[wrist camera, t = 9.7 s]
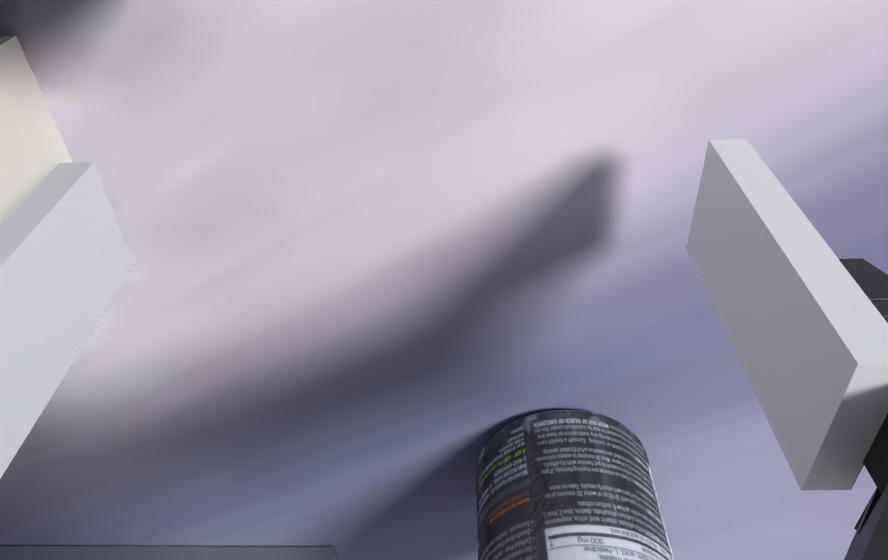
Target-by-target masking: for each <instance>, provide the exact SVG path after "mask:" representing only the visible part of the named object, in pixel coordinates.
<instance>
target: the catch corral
mask: <svg viewBox="0 0 888 560" xmlns="http://www.w3.org/2000/svg"><path fill="white" fill-rule="evenodd" d="M0 560H337V557H336V553H335V549H334V547H225V546H0Z"/></svg>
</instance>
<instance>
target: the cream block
mask: <svg viewBox="0 0 888 560" xmlns="http://www.w3.org/2000/svg"><path fill="white" fill-rule="evenodd" d="M59 163H72V160H71V158H70V156H69V154H68V151H67V149H66V147H65V145H64V142H63V140H62V138H61V135H60V133H59V131H58V129H57V126H56V124H55V122H54V120H53V117H52V115H51V113H50V111H49V108H48V106H47V104H46V102H45V99H44V97H43V95H42V93H41V90H40V88H39V86H38V84H37V81H36V79H35V77H34V74H33V72H32V70H31V68H30V65H29V63H28V61H27V59H26V56H25V54H24V52H23V50H22V47H21V45H20V43H19V41H18V38H17V36H2V37H0V224H1V223H2V222H3V221H4V220H5V219H6V217H7V216H8V215H9V214H10V213H11V212H12V211H13V210H14V209H15V208H16V207H17V206H18V205H19V204H20V203H21V202H22V201H23V200H24V199H25V198H26V197H27V196H28V195H29V194H30V193H31V192H32V191H33V190H34V189H35V188H36V187H37V186H38V185H39V183H40V182H41V181H42V180H43V179H44V178H45V177H46V176H47V175H48V174H49V173H50V172H51V171H52V170H53V169H54V168H55V167H56V166H57V165H58V164H59Z"/></svg>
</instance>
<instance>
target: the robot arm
mask: <svg viewBox="0 0 888 560" xmlns="http://www.w3.org/2000/svg"><path fill="white" fill-rule="evenodd" d="M687 251H688V253H689V255H690V257H691V259H692V261H693V263H694V265H695V267H696V270H697V272H698V274H699V276H700V278H701V280H702V282H703V284H704V286H705V288H706V291H707V293H708V295H709V297H710V299H711V301H712V303H713V305H714V307H715V310H716V312H717V314H718V316H719V318H720V320H721V322H722V324H723V326H724V329H725V331H726V333H727V335H728V337H729V339H730V341H731V343H732V345H733V348H734V350H735V352H736V354H737V356H738V358H739V360H740V362H741V364H742V366H743V369H744V371H745V373H746V375H747V377H748V379H749V381H750V383H751V385H752V388H753V390H754V392H755V394H756V396H757V398H758V400H759V402H760V404H761V407H762V409H763V411H764V413H765V415H766V417H767V419H768V421H769V423H770V426H771V428H772V430H773V432H774V434H775V436H776V438H777V440H778V442H779V444H780V447H781V449H782V451H783V453H784V455H785V457H786V459H787V461H788V463H789V466H790V468H791V470H792V472H793V474H794V476H795V478H796V480H797V482H798V485H799V487H800V489H801V490H851V489H852V487H853V485H854V483H855V481H856V479H857V477H858V475H859V474H860V472H861V470H862V468H863V466H864V465H865V467H866V469H867V470H868V472H869V474H870V475H871V477H872V479H873V481H874V482H875V484H876V486H877V488H876V490H875V492H874V494H873V495H872V497H871V499H870V501H869V503H868V504H867V506H866V508H865V510H864V512H863V513H862V515H861V517H860V519H859V521H858V522H857V524H856V526H855V528H854V529H856V530H857V531H856V533H855V536H854V538H853V540H852V543H851V545H850V547H849V550H848V552H847V554H846V557H845V559H844V560H888V275H887V274H885V273H884V272H882V271H881V270H879V269H878V268H876V267H875V266H873V265H871V264H870V263H868V262H867V261H865V260H864V259H838V258H837V257H836V255H835V254H834V253H833V251H832V250H831V249H830V247H829V246H828V245H827V244H826V242H825V241H824V240H823V238H822V237H821V236H820V234H819V233H818V232H817V231H816V229H815V228H814V227H813V225H812V224H811V223H810V221H809V220H808V219H807V217H806V216H805V215H804V214H803V212H802V211H801V210H800V208H799V207H798V206H797V204H796V203H795V202H794V201H793V199H792V198H791V197H790V195H789V194H788V193H787V191H786V190H785V189H784V187H783V186H782V185H781V184H780V182H779V181H778V180H777V178H776V177H775V176H774V174H773V173H772V172H771V171H770V169H769V168H768V167H767V165H766V164H765V163H764V161H763V160H762V159H761V157H760V156H759V155H758V154H757V152H756V151H755V150H754V148H753V147H752V146H751V144H750V143H749V142H748V141H747V139H724V140H709V142H708V147H707V152H706V157H705V162H704V166H703V171H702V176H701V181H700V186H699V190H698V195H697V200H696V205H695V210H694V214H693V219H692V224H691V229H690V234H689V238H688V243H687ZM134 265H135V264H134V262H133V259H132V257H131V254H130V252H129V249H128V247H127V244H126V242H125V239H124V237H123V234H122V232H121V229H120V227H119V224H118V221H117V219H116V216H115V214H114V211H113V209H112V206H111V204H110V201H109V199H108V196H107V194H106V191H105V189H104V186H103V184H102V181H101V179H100V176H99V173H98V171H97V168H96V166H95V163H94V162H78V163H59V164H58V165H57V166H56V167H55V168H54V169H53V170H52V171H51V172H50V173H49V174H48V175H47V176H46V177H45V178H44V179H43V180H42V181H41V182H40V183H39V185H38V186H37V187H36V188H35V189H34V190H33V191H32V192H31V193H30V194H29V195H28V196H27V197H26V198H25V199H24V200H23V201H22V202H21V203H20V204H19V205H18V206H17V207H16V208H15V209H14V210H13V211H12V212H11V213H10V214H9V215H8V216H7V217H6V219H5V220H4V221H3V222H2V223H1V224H0V479H1V477H2V475H3V474H4V472H5V471H6V469H7V467H8V466H9V464H10V463H11V461H12V459H13V458H14V456H15V455H16V453H17V452H18V450H19V448H20V447H21V445H22V444H23V442H24V440H25V439H26V437H27V436H28V434H29V432H30V431H31V429H32V428H33V426H34V424H35V423H36V421H37V420H38V418H39V416H40V415H41V413H42V412H43V410H44V409H45V407H46V405H47V404H48V402H49V401H50V399H51V397H52V396H53V394H54V393H55V391H56V389H57V388H58V386H59V385H60V383H61V381H62V380H63V378H64V377H65V375H66V373H67V372H68V370H69V369H70V367H71V366H72V364H73V362H74V361H75V359H76V358H77V356H78V354H79V353H80V351H81V350H82V348H83V346H84V345H85V343H86V342H87V340H88V338H89V337H90V335H91V334H92V332H93V330H94V329H95V327H96V326H97V324H98V322H99V321H100V319H101V318H102V316H103V315H104V313H105V311H106V310H107V308H108V307H109V305H110V303H111V302H112V300H113V299H114V297H115V295H116V294H117V292H118V291H119V289H120V287H121V286H122V284H123V283H124V281H125V279H126V278H127V276H128V275H129V273H130V272H131V270H132V268H133V267H134Z"/></svg>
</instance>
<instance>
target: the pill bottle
mask: <svg viewBox="0 0 888 560" xmlns="http://www.w3.org/2000/svg"><path fill="white" fill-rule="evenodd" d="M476 481H477V484H476V493H477V525H478V560H674V556H673V552H672V549H671V545H670V541H669V537H668V533H667V529H666V526H665V522H664V519H663V515H662V511H661V508H660V504H659V500H658V497H657V493H656V489H655V485H654V482H653V478H652V474H651V470H650V466H649V461H648V458H647V454H646V451H645V449H644V447H643V445H642V443H641V442H640V440H639V439H638V437H637V436H636V435H635V434H634V433H633V432H632V431H631V430H629V429H628V428H627V427H625V426H624V425H622V424H621V423H619V422H617V421H616V420H613V419H611V418H609V417H606V416H603V415H601V414H597V413H593V412H587V411H579V410H555V411H546V412H541V413H537V414H533V415H530V416H527V417H524V418H521V419H519V420H517V421H515V422H512V423H510V424H509V425H507V426H505V427H504V428H502V429H501V430H500V431H498V432H497V433H496V434H495V435H493V437H492V438H491V439H490V440H489V441H488V442H487V443H486V445H485V446H484V448H483V449H482V451H481V452H480V455H479V462H478V466H477V475H476Z"/></svg>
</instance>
